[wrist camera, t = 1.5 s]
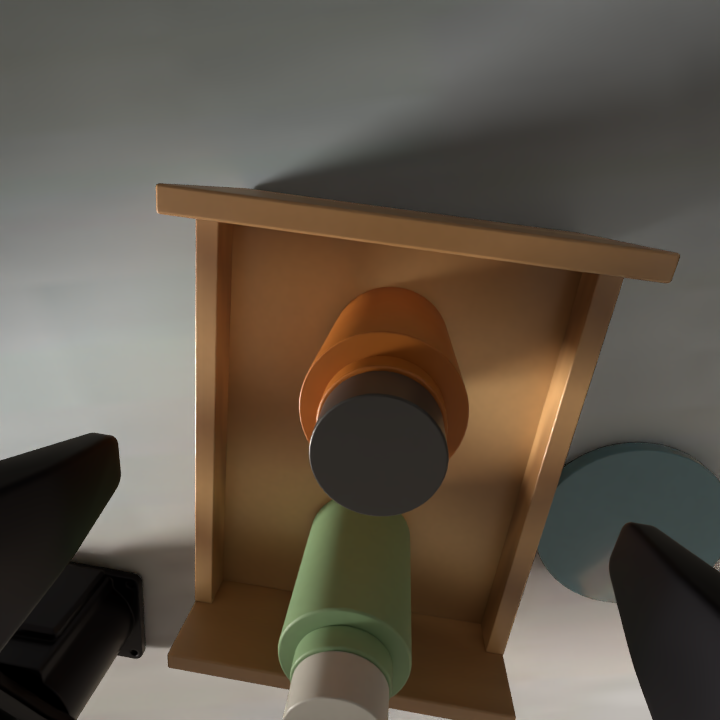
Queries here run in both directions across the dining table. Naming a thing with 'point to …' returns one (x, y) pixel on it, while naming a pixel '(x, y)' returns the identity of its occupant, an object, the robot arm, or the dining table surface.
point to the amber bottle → (384, 404)
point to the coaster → (626, 511)
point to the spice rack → (465, 468)
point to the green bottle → (349, 618)
